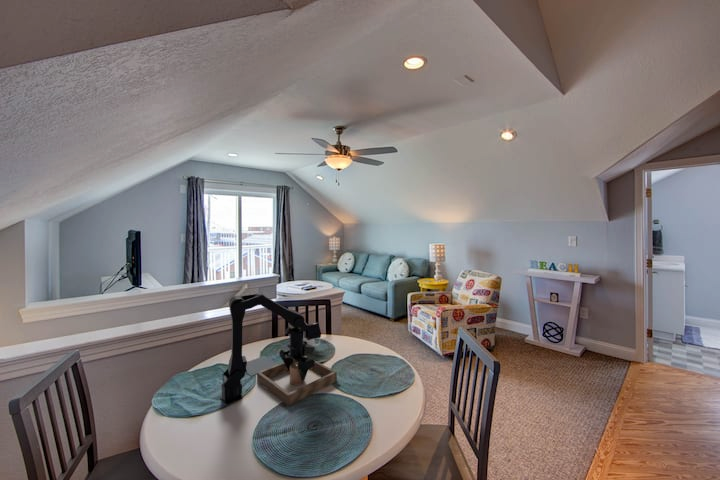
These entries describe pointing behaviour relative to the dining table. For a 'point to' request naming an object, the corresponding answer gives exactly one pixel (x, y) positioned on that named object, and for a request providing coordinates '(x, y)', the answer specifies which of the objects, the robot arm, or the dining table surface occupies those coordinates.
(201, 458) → the dining table surface
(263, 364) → the mat
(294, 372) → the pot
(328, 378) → the frame
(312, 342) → the mug
